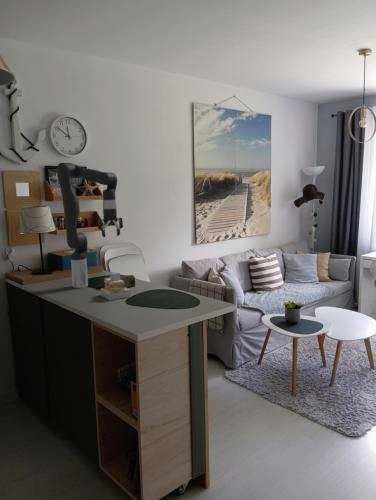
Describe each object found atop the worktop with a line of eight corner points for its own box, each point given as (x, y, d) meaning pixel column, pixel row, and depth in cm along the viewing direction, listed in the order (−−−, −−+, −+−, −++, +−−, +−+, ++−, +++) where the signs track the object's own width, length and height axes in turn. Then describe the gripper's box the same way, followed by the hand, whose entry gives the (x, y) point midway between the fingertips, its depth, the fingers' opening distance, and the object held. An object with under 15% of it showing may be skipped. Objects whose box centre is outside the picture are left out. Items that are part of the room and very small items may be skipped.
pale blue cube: (110, 280, 225) (110, 273, 224) (117, 279, 227) (116, 272, 227) (113, 281, 222) (113, 274, 221) (120, 280, 224) (119, 273, 223)
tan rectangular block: (104, 287, 230) (104, 278, 230) (114, 285, 234) (114, 277, 233) (114, 291, 219) (113, 282, 218) (124, 290, 222) (124, 281, 221)
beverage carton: (135, 286, 248) (135, 276, 247) (103, 289, 243) (103, 278, 242) (134, 284, 255) (133, 273, 254) (103, 286, 251) (102, 276, 250)
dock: (101, 295, 228) (100, 288, 227) (120, 292, 234) (120, 285, 234) (110, 300, 217) (109, 292, 217) (130, 296, 224) (130, 289, 223)
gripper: (118, 207, 238) (119, 234, 240) (95, 208, 230) (96, 236, 233) (123, 207, 232) (125, 235, 234) (100, 208, 224) (101, 238, 226)
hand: (111, 236), depth 233 cm, fingers open, 8 cm apart
